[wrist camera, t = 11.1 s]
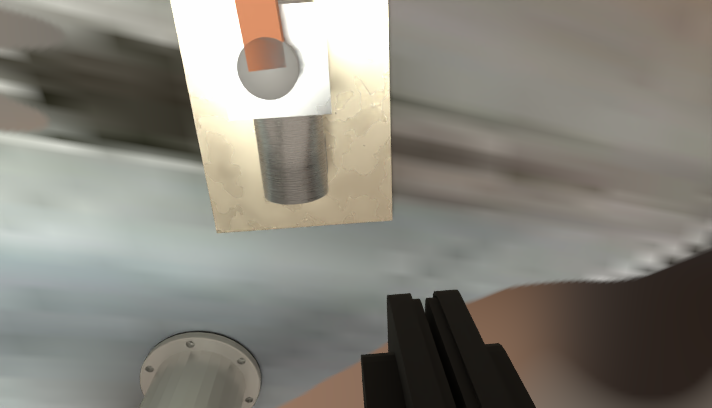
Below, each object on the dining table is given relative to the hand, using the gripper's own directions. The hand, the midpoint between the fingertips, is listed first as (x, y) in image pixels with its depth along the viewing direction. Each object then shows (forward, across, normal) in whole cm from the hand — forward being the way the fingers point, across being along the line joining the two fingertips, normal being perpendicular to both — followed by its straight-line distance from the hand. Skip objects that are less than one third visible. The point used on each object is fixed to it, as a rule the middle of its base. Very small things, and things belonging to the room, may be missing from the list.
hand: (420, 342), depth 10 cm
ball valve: (+29, +5, -5) cm, 30 cm away
